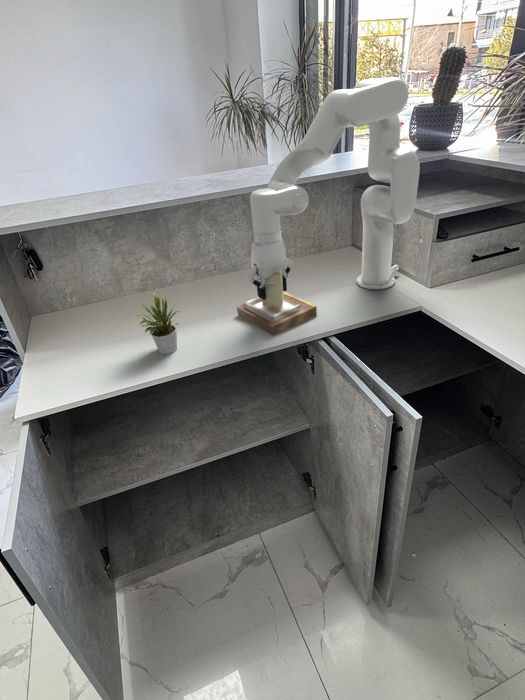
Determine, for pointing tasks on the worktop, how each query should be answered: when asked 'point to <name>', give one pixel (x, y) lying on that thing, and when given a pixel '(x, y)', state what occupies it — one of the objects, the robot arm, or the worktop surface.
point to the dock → (277, 313)
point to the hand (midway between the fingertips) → (272, 293)
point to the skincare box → (274, 289)
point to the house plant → (161, 326)
